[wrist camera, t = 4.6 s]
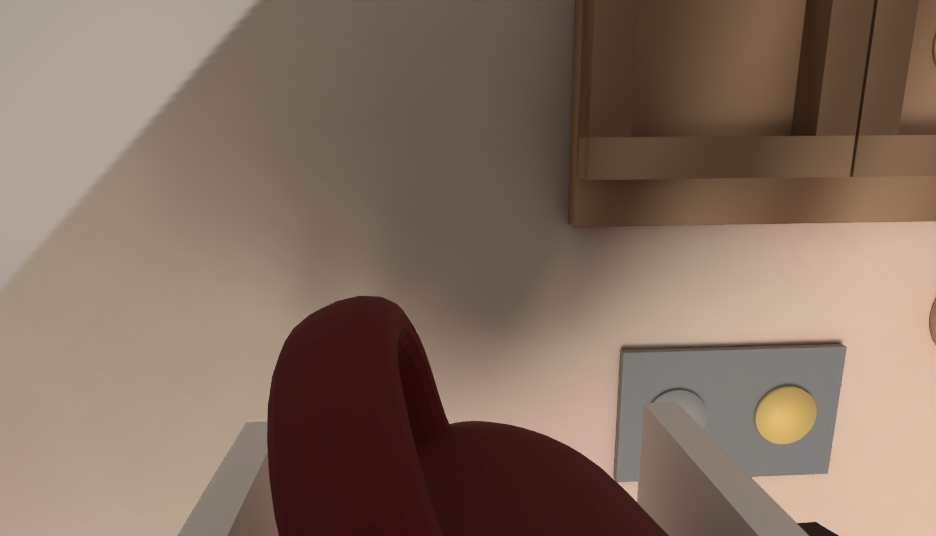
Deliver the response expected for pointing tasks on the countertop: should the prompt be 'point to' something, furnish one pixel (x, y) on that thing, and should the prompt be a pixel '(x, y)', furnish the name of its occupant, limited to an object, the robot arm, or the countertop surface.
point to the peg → (933, 322)
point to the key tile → (738, 403)
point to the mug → (414, 447)
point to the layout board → (753, 112)
